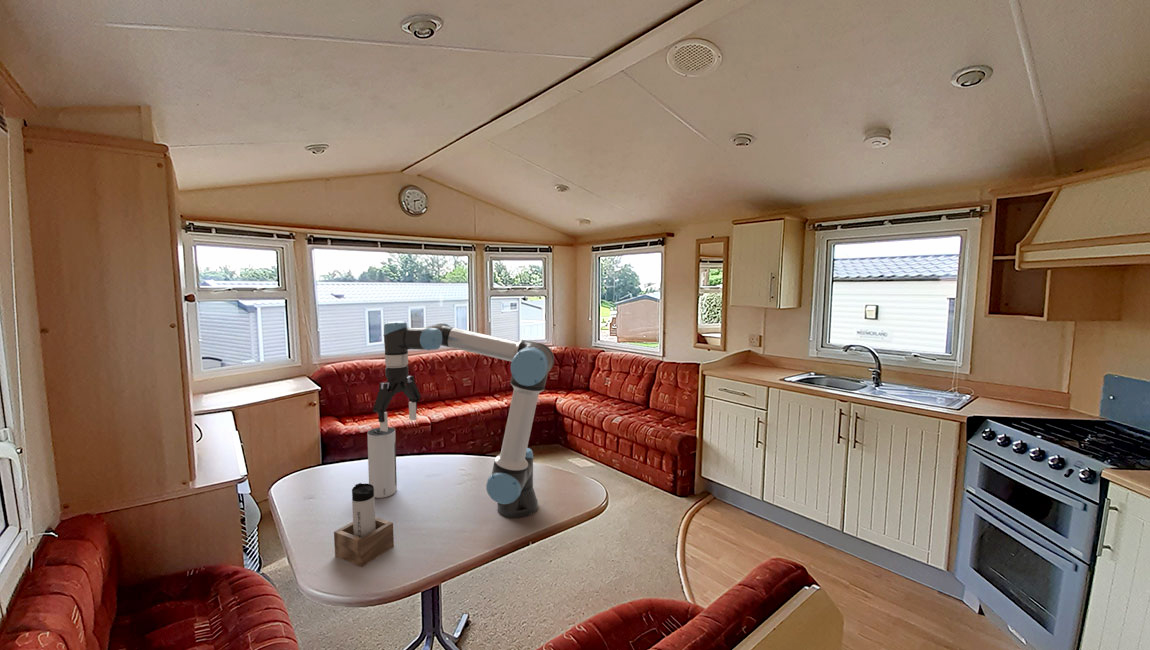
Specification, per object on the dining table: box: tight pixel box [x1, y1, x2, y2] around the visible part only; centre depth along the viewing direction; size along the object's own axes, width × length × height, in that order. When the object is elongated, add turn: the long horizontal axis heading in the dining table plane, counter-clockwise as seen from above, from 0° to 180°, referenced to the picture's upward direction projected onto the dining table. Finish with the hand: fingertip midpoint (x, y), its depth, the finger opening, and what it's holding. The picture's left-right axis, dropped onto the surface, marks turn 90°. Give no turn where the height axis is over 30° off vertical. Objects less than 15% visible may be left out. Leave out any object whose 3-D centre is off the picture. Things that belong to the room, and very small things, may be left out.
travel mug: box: [351, 482, 376, 538], centre depth 142 cm, size 6×7×20 cm
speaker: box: [366, 426, 398, 499], centre depth 182 cm, size 11×10×26 cm
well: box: [333, 516, 395, 568], centre depth 143 cm, size 12×12×8 cm
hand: (399, 425), depth 160 cm, fingers open, 13 cm apart
